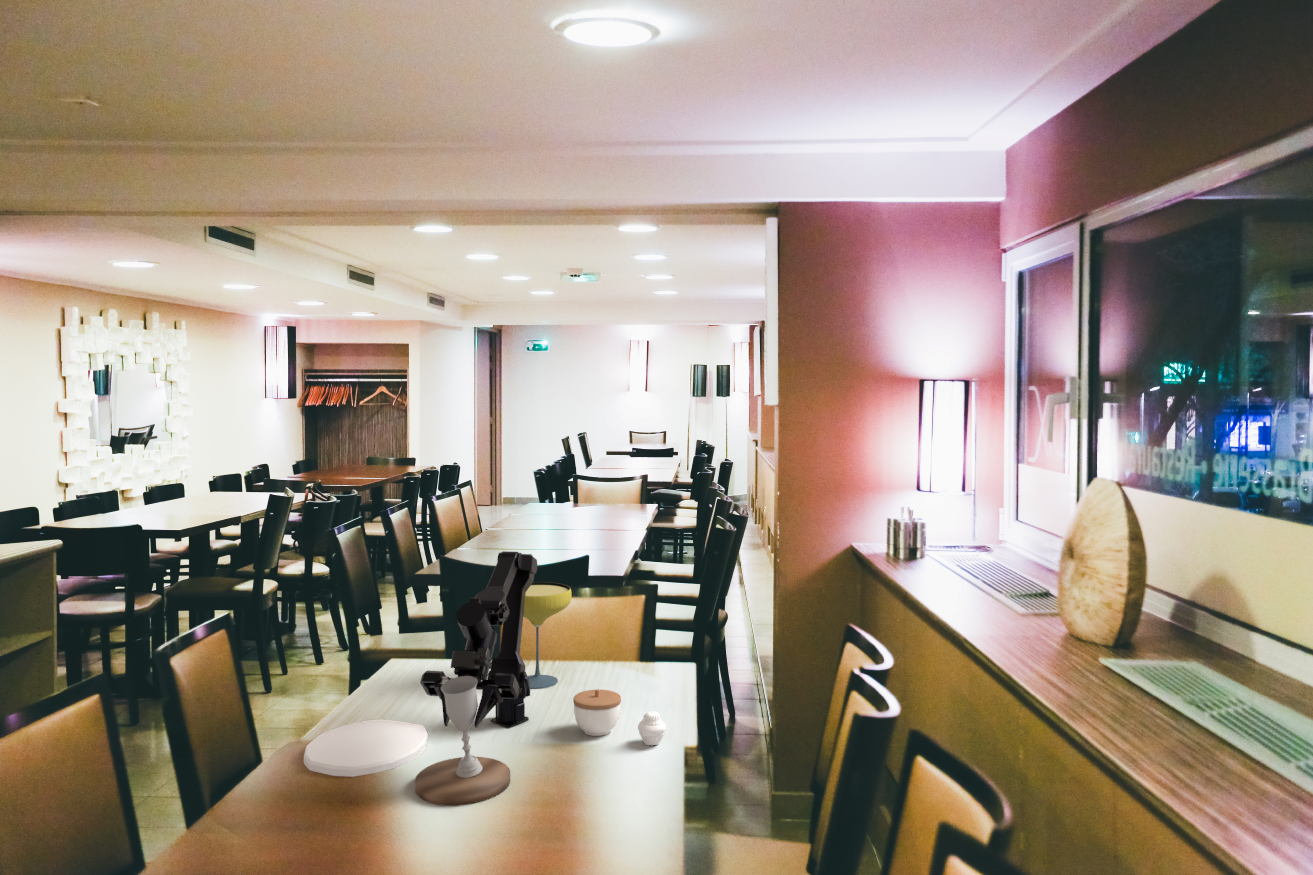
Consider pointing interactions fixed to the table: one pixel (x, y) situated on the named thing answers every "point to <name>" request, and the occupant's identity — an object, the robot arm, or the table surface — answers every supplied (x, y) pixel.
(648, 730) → the muffin
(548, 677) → the cocktail glass
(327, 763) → the decorative plate
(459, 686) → the chalice
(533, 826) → the table surface
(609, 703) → the lidded jar
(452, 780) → the serving board
